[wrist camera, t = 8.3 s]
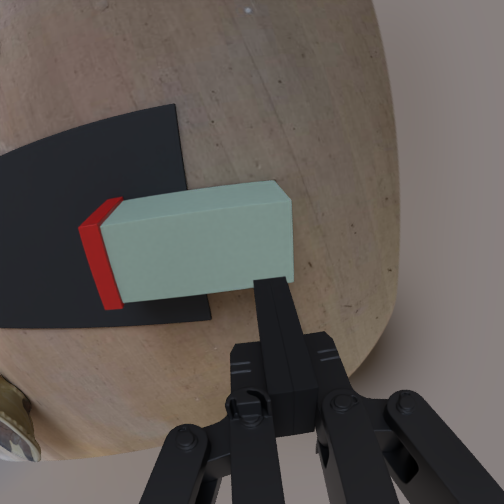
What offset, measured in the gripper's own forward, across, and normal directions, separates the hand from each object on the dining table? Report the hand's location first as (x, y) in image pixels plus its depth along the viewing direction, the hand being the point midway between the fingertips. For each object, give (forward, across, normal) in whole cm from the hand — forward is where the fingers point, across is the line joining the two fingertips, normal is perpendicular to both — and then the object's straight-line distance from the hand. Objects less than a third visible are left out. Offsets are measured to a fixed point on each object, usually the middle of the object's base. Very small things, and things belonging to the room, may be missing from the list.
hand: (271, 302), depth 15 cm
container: (+10, +2, 0) cm, 10 cm away
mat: (+13, -20, 0) cm, 24 cm away
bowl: (+13, -43, -25) cm, 51 cm away
